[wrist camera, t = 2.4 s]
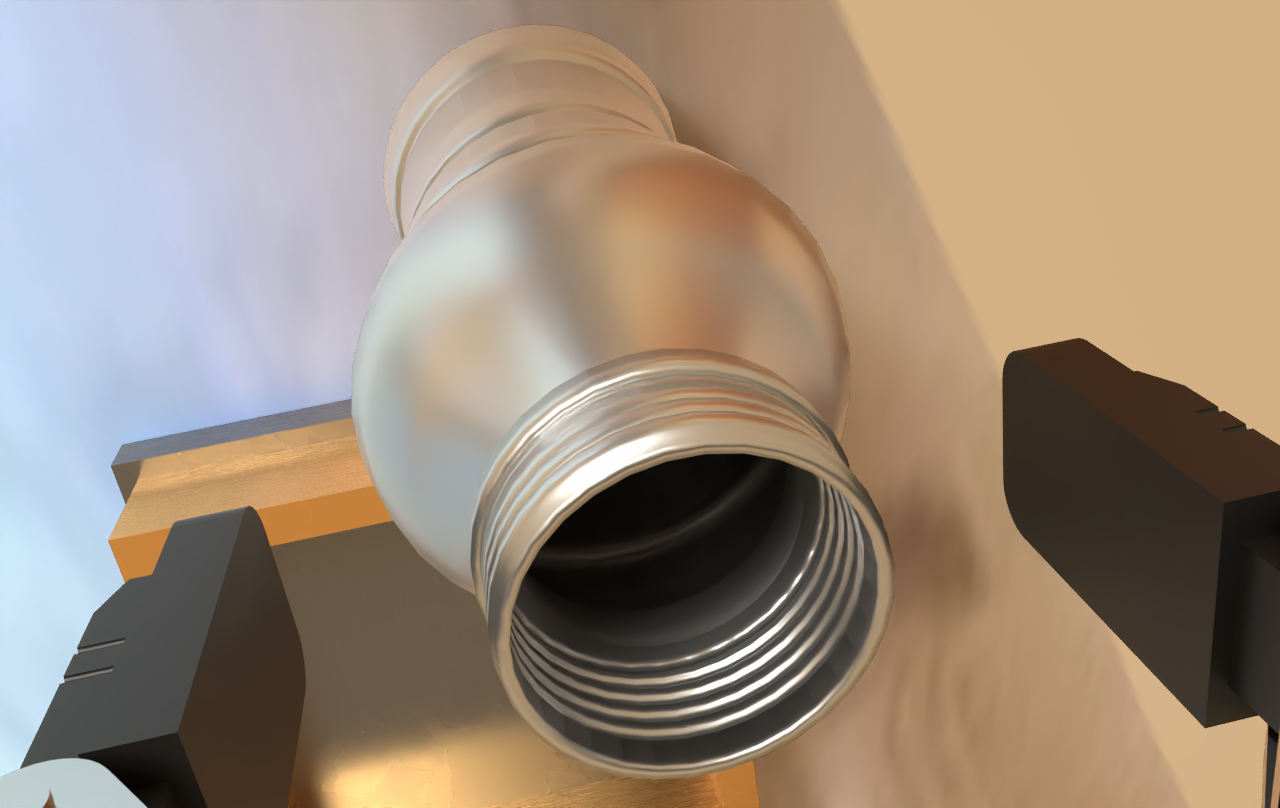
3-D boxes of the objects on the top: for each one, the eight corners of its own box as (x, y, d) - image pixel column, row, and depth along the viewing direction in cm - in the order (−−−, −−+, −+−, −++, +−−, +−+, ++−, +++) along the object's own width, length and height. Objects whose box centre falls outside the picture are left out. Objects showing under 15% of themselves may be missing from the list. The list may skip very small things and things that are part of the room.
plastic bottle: (705, 177, 29) (1163, 638, 11) (493, 330, 30) (597, 998, 12) (558, -47, 26) (847, 84, 8) (327, 127, 27) (135, 594, 9)
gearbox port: (122, 444, 29) (77, 526, 26) (689, 331, 31) (726, 392, 27) (282, 865, 36) (266, 980, 32) (745, 755, 37) (782, 853, 33)
